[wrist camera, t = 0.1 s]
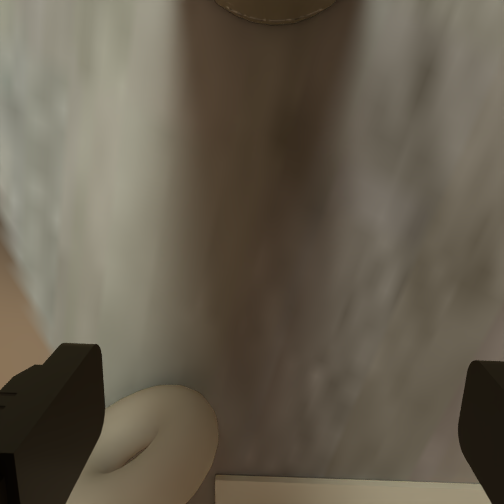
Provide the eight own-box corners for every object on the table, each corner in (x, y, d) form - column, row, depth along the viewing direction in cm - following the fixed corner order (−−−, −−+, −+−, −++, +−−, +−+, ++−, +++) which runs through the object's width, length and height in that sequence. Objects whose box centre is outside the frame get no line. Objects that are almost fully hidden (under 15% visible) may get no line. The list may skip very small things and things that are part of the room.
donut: (100, 443, 33) (35, 589, 24) (75, 404, 32) (-5, 540, 22) (234, 396, 31) (221, 532, 22) (211, 353, 30) (187, 477, 21)
